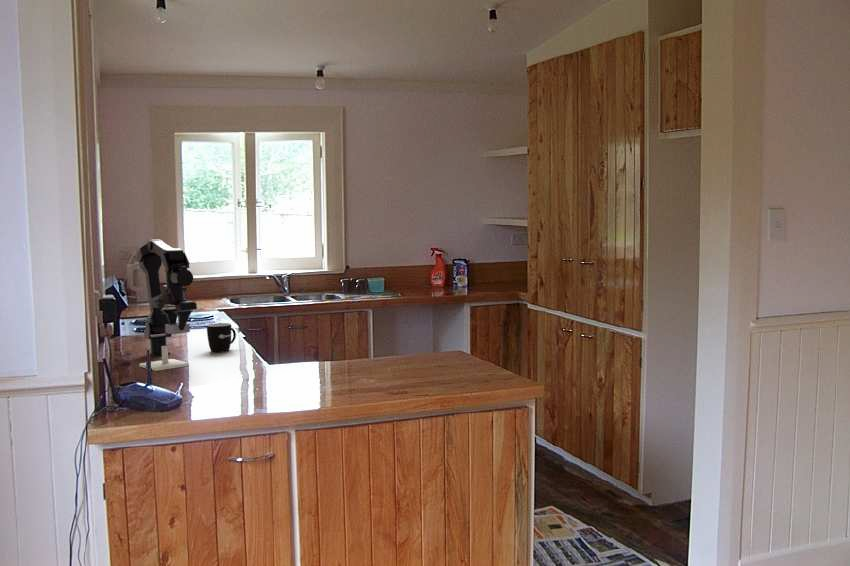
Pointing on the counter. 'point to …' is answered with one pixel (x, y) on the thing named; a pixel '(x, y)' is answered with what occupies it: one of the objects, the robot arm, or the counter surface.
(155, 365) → the peg board
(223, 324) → the mug
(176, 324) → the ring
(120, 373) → the counter surface
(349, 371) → the counter surface
